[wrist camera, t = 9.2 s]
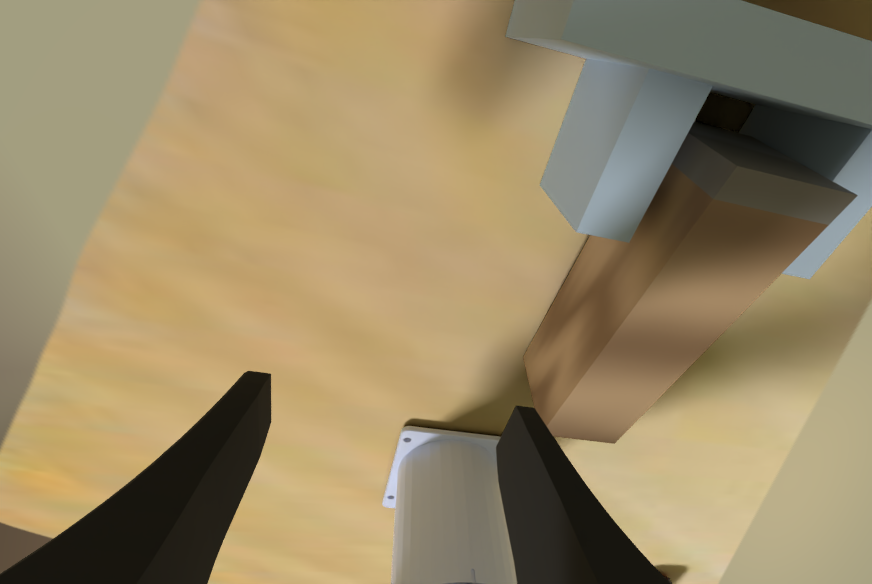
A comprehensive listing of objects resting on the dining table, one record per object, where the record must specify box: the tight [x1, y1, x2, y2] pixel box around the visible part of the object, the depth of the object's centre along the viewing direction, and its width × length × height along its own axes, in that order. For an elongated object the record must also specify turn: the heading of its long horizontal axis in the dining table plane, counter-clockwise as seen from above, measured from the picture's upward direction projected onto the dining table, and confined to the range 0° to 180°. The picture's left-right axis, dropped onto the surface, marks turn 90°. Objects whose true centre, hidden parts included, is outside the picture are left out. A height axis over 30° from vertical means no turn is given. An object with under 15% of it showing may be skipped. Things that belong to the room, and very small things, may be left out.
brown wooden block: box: [523, 122, 858, 444], centre depth 17 cm, size 14×4×5 cm, turn 167°
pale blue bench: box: [505, 0, 872, 279], centre depth 14 cm, size 6×16×7 cm, turn 78°
